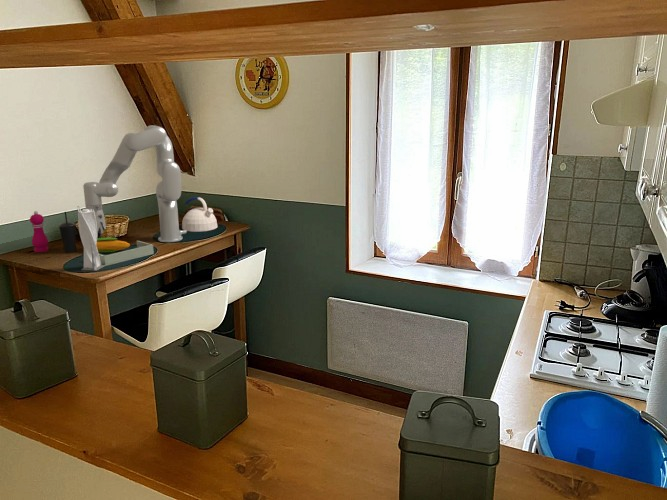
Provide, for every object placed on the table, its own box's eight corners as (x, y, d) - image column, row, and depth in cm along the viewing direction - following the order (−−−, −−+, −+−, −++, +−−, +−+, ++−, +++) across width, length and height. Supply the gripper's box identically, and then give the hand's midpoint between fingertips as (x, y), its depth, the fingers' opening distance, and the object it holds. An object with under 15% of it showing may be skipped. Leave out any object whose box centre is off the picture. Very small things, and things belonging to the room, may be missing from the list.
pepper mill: (41, 253, 272) (35, 213, 267) (29, 251, 275) (23, 212, 269) (52, 249, 279) (47, 210, 273) (41, 248, 281) (36, 209, 276)
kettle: (200, 233, 312) (198, 201, 307) (174, 229, 322) (172, 198, 317) (225, 226, 328) (223, 196, 323) (199, 222, 339) (197, 193, 334)
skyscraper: (78, 269, 247) (70, 207, 239) (89, 264, 255) (81, 204, 247) (95, 270, 246) (88, 208, 238) (106, 265, 253) (99, 204, 246)
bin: (138, 249, 279) (137, 240, 278) (153, 253, 272) (153, 244, 271) (90, 260, 260) (89, 251, 259) (105, 265, 253) (104, 256, 251)
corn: (89, 235, 275) (131, 234, 278) (91, 250, 278) (132, 248, 280) (84, 240, 268) (127, 239, 271) (87, 255, 271) (129, 254, 273)
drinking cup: (76, 253, 272) (71, 213, 267) (59, 254, 271) (54, 213, 265) (80, 249, 279) (75, 210, 274) (64, 249, 278) (59, 210, 273)
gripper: (109, 208, 272) (113, 244, 277) (93, 204, 281) (96, 240, 286) (95, 210, 266) (98, 247, 271) (78, 206, 275) (82, 242, 280)
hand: (97, 243), depth 278 cm, fingers closed
